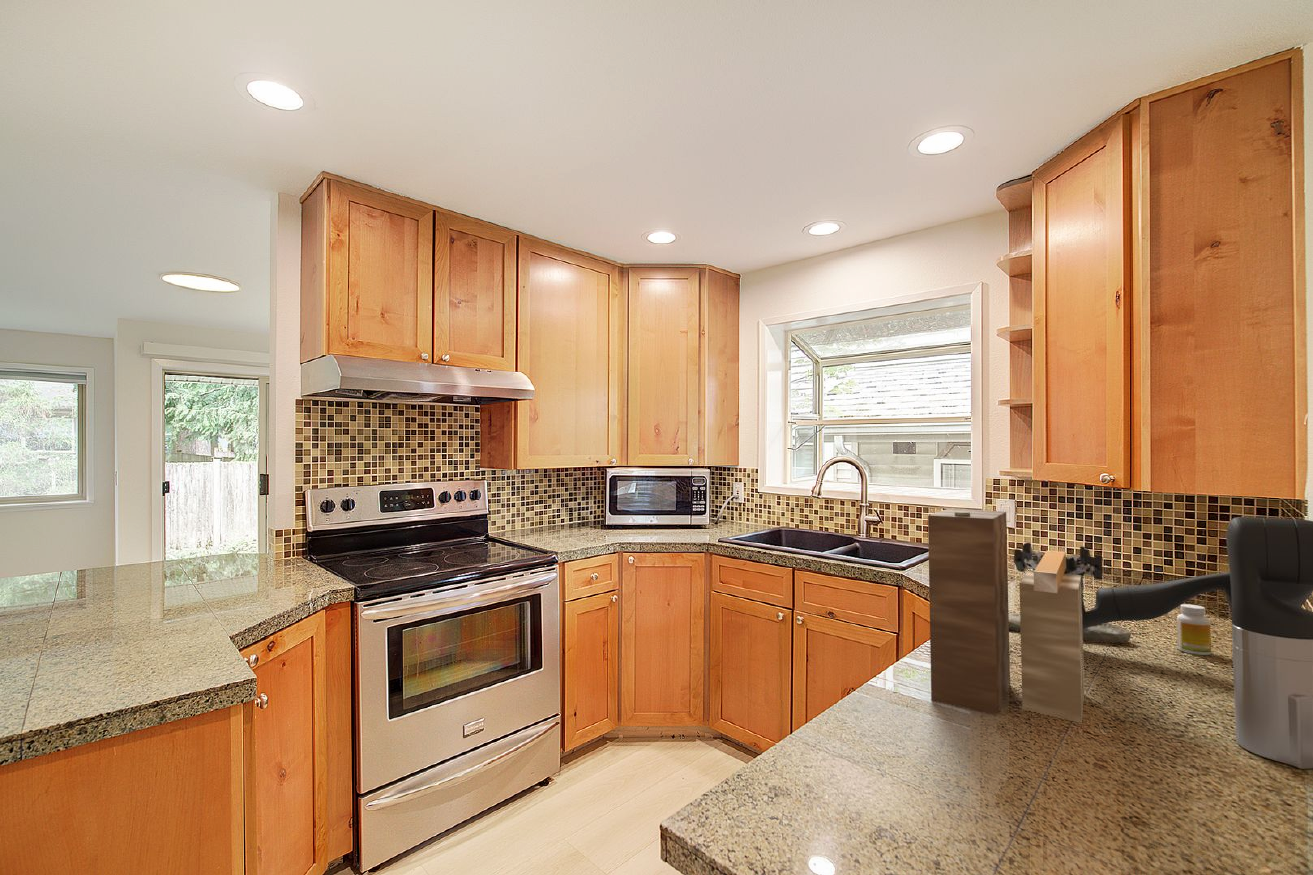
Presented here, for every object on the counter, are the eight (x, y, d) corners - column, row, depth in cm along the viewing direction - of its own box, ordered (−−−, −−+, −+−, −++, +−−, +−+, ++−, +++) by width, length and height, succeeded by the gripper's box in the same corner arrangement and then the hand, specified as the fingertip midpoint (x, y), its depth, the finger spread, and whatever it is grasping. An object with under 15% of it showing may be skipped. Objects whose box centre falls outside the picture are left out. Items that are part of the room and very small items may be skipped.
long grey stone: (962, 620, 157) (956, 632, 149) (960, 601, 157) (954, 611, 149) (1129, 635, 137) (1133, 649, 129) (1126, 613, 137) (1130, 625, 129)
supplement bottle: (1218, 656, 124) (1216, 610, 124) (1188, 654, 125) (1186, 608, 126) (1200, 648, 129) (1198, 603, 130) (1171, 646, 130) (1170, 602, 131)
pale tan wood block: (1047, 566, 114) (1046, 550, 114) (1066, 568, 112) (1065, 551, 112) (1034, 590, 93) (1033, 571, 94) (1057, 593, 92) (1056, 573, 92)
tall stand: (950, 673, 115) (947, 505, 116) (1010, 685, 109) (1006, 508, 110) (931, 700, 102) (927, 511, 103) (997, 715, 96) (992, 515, 97)
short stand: (1031, 684, 109) (1028, 570, 110) (1084, 694, 104) (1081, 575, 105) (1022, 709, 98) (1019, 583, 99) (1081, 722, 93) (1078, 589, 94)
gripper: (1020, 559, 127) (1011, 527, 116) (1103, 566, 118) (1102, 533, 107) (1019, 593, 123) (1009, 563, 113) (1104, 603, 115) (1103, 572, 104)
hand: (1054, 549), depth 110 cm, fingers open, 8 cm apart
